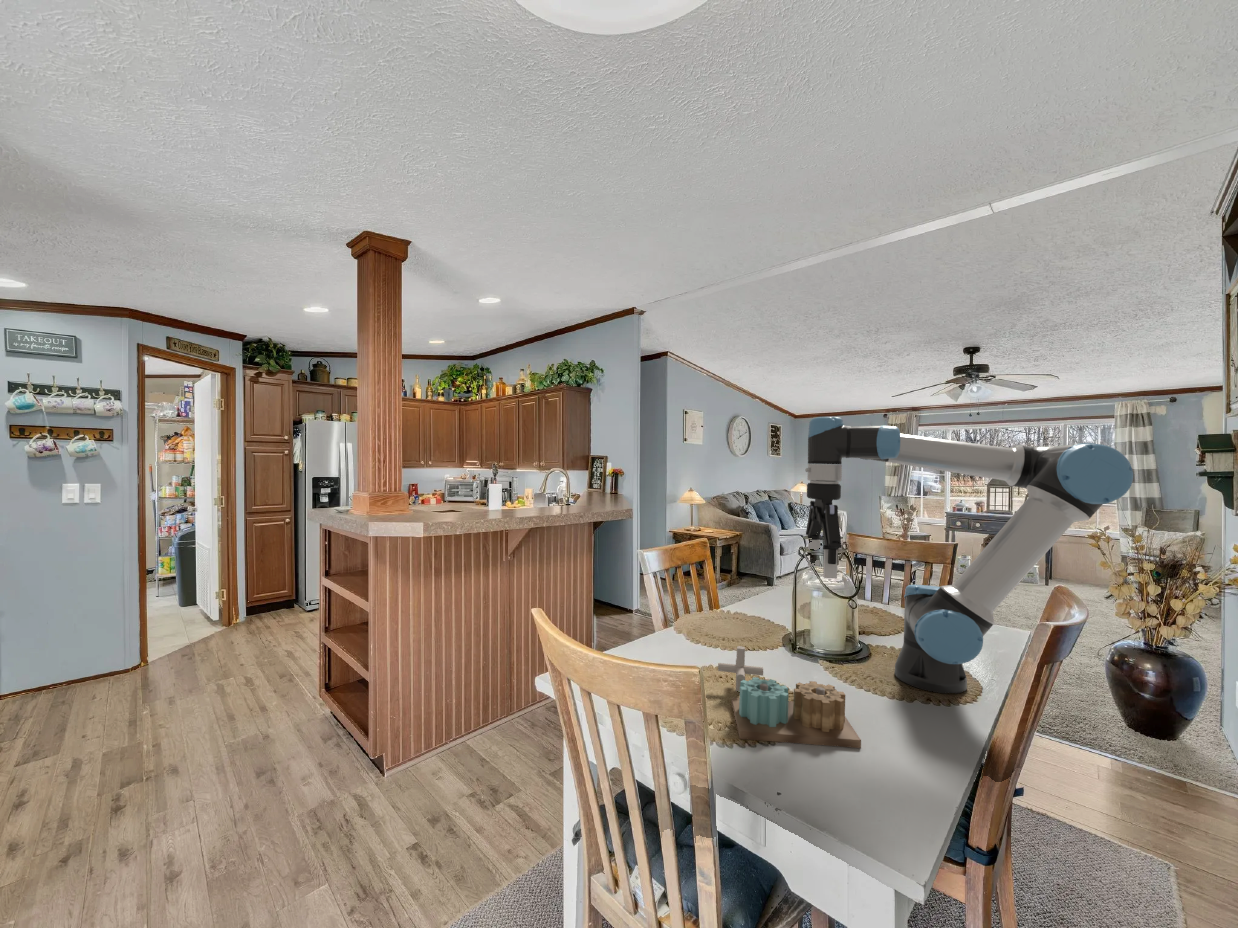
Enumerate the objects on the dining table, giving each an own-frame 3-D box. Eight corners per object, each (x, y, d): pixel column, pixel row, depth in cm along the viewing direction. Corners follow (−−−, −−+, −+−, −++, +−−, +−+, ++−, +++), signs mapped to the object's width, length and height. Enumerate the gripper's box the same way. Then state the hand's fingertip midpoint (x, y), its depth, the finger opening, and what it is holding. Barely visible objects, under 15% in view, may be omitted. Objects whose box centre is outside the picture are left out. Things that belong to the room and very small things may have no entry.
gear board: (836, 711, 109) (837, 676, 109) (860, 748, 96) (862, 707, 95) (731, 703, 112) (732, 669, 112) (739, 738, 98) (740, 699, 98)
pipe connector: (764, 703, 112) (765, 657, 112) (717, 698, 114) (718, 653, 114) (760, 684, 122) (761, 642, 122) (717, 679, 124) (718, 638, 124)
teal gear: (776, 702, 109) (777, 676, 109) (796, 726, 100) (797, 697, 100) (732, 703, 108) (733, 677, 108) (748, 727, 99) (749, 699, 99)
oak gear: (835, 709, 107) (836, 682, 107) (851, 733, 98) (852, 704, 98) (788, 705, 108) (789, 679, 108) (799, 729, 99) (800, 700, 99)
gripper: (795, 480, 136) (793, 560, 136) (822, 484, 111) (820, 583, 111) (824, 480, 135) (822, 561, 135) (859, 485, 110) (856, 584, 110)
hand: (821, 571), depth 123 cm, fingers open, 13 cm apart
